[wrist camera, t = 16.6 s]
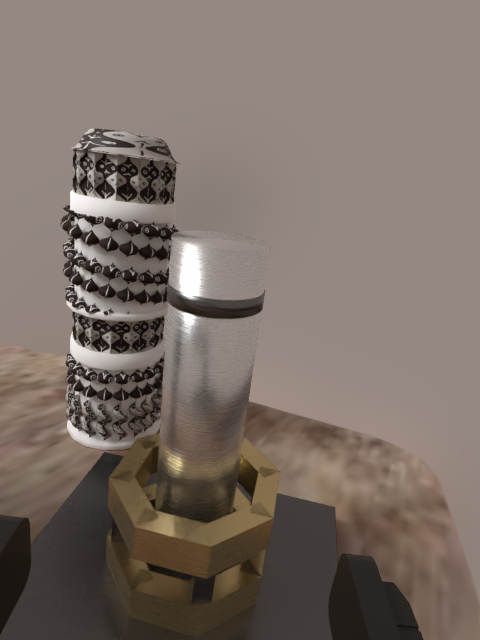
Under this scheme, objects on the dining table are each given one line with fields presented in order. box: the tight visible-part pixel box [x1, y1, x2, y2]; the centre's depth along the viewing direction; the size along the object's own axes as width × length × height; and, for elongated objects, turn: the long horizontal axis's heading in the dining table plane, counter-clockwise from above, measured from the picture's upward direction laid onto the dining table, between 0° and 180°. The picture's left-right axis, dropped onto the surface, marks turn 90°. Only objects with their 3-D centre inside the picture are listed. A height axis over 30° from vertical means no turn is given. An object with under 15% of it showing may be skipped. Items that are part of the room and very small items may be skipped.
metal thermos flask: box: [153, 231, 270, 582], centre depth 22 cm, size 4×4×19 cm
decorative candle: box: [61, 129, 180, 451], centre depth 35 cm, size 9×9×25 cm
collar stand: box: [0, 432, 338, 640], centre depth 25 cm, size 18×14×8 cm
